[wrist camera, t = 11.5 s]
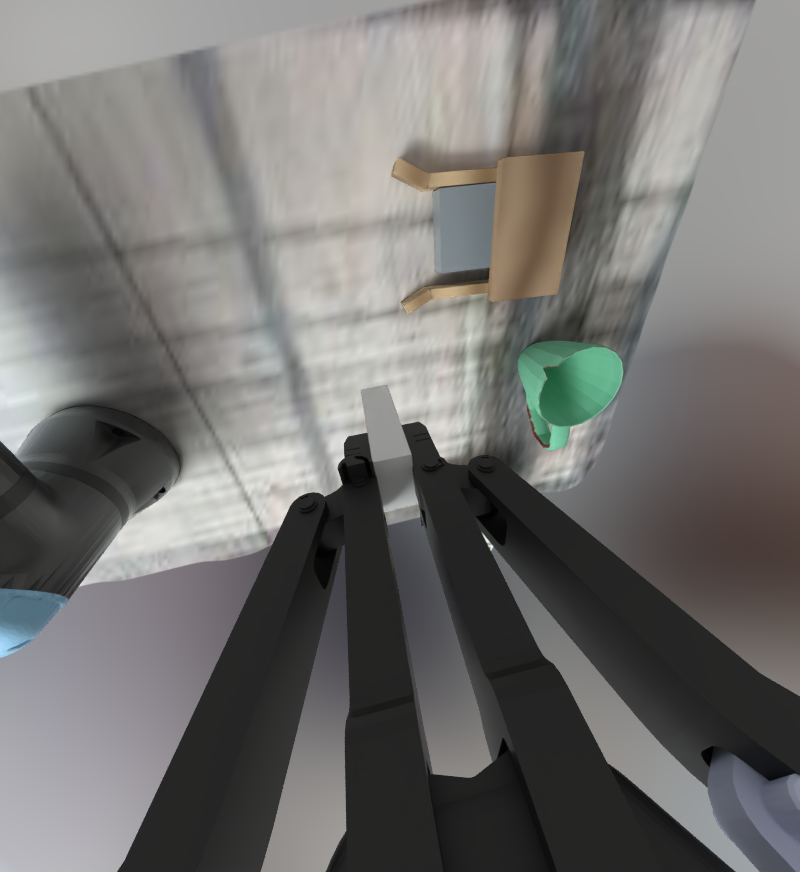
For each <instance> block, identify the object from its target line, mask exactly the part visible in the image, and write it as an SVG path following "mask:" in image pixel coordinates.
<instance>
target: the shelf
mask: <svg viewBox="0 0 800 872" xmlns="http://www.w3.org/2000/svg"><path fill="white" fill-rule="evenodd" d="M584 153H585V151H578V152H566V153H554V154H541V155H529V156H516V157H504V158H502V159H500V160H498V163H497V168H487V169H475V170H463V171H451V172H439V173H427V172H425V171H423V170H421V169H419V168H417V167H415V166H413V165H412V164H410V163H408V162H406V161H404V160H402V159H400V158H398V159H397V160H396V162H395V164H394V167H393V171H392V175H391V176H392V177H394V178H396V179H398V180H400V181H402V182H404V183H406V184H408V185H410V186H412V187H414V188H416V189H418V190H420V191H427V190H437V189H439V188H448V187H457V186H467V185H477V184H487V183H496V190H495V204H494V217H493V230H492V244H491V257H490V271H489V279H488V280H479V281H470V282H462V283H453V284H444V285H435V286H426V287H425V286H424V287H423V288H421V289H420V290H418V291H417V292H415V293H414V294H412V295H411V296H409V297H407V298H406V299H404V300H403V301H401V304H402V306H403V307H404V309H405V311H406V312H407V313H408V314H409V313H411V312H412V311H414V310H415V309H417V308H418V307H420V306H422V305H423V304H425V303H426V302H428V301H429V300H431V299H439V298H448V297H456V296H465V295H473V294H482V293H488V298H487V300H489V301H491V302H496V301H504V300H512V299H521V298H529V297H537V296H546V295H554V294H557V293H558V288H559V283H560V277H561V272H562V267H563V262H564V257H565V252H566V246H567V241H568V236H569V231H570V226H571V220H572V215H573V210H574V205H575V200H576V195H577V189H578V184H579V179H580V174H581V169H582V163H583V158H584Z"/></svg>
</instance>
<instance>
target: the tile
mask: <svg viewBox="0 0 800 872" xmlns="http://www.w3.org/2000/svg"><path fill="white" fill-rule="evenodd" d="M495 190H496V183H487V184H477V185H467V186H457V187H448V188H439V189H437V190H435V191H434V192H433V220H434V261H435V271H436V272H438V273H448V272H457V271H465V270H473V269H481V268H489V267H490V257H491V244H492V230H493V217H494V204H495Z"/></svg>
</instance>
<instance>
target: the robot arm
mask: <svg viewBox="0 0 800 872" xmlns="http://www.w3.org/2000/svg"><path fill="white" fill-rule="evenodd" d="M361 395H362V402H363V408H364V414H365V420H366V426H367V432H368V433H364V434H359V435H354V436H349V437H348V438H347V439H346V441H345V443H344V456H345V458H344V459H343V460H342V461H341V462H340V463H339V465H338V471H339V474H340V477H341V480H342V484H343V485H342V486H341V487H340V488H339V489H338V490H337V491H335V492H333V493H332V494H329V495H327V496H325V497H324V496H323V495H321V494H320V493H314V492H313V493H307V494H304V495H302V496H300V497H299V498H297V499H296V500H295V501H294V502H293V503H292V505H291V506H290V508H289V510H288V512H287V515H286V517H285V519H284V521H283V523H282V525H281V527H280V530H279V532H278V534H277V536H276V538H275V540H274V542H273V544H272V547H271V549H270V551H269V553H268V555H267V557H266V559H265V562H264V564H263V566H262V568H261V570H260V572H259V574H258V577H257V579H256V581H255V583H254V585H253V587H252V589H251V591H250V594H249V596H248V598H247V600H246V602H245V604H244V607H243V609H242V611H241V613H240V615H239V617H238V619H237V621H236V624H235V626H234V628H233V630H232V632H231V634H230V636H229V638H228V641H227V643H226V645H225V647H224V649H223V651H222V653H221V656H220V658H219V660H218V662H217V664H216V666H215V668H214V671H213V673H212V675H211V677H210V679H209V681H208V684H207V685H206V688H205V690H204V692H203V694H202V696H201V698H200V701H199V703H198V705H197V707H196V709H195V711H194V713H193V716H192V718H191V720H190V722H189V724H188V726H187V728H186V730H185V732H184V735H183V737H182V739H181V741H180V743H179V745H178V748H177V750H176V752H175V754H174V756H173V758H172V760H171V763H170V765H169V767H168V769H167V771H166V773H165V775H164V777H163V780H162V782H161V784H160V786H159V788H158V790H157V792H156V794H155V797H154V799H153V801H152V803H151V805H150V807H149V809H148V812H147V814H146V816H145V818H144V820H143V822H142V825H141V827H140V829H139V831H138V833H137V835H136V837H135V840H134V842H133V844H132V846H131V848H130V850H129V852H128V855H127V857H126V859H125V861H124V862H123V864H122V865H121V867H120V868H119V870H118V871H117V872H260V871H261V868H262V865H263V861H264V858H265V854H266V851H267V847H268V844H269V840H270V837H271V833H272V829H273V826H274V822H275V818H276V814H277V810H278V805H279V801H280V797H281V793H282V789H283V785H284V781H285V777H286V773H287V769H288V765H289V761H290V757H291V752H292V749H293V744H294V741H295V737H296V733H297V729H298V724H299V720H300V716H301V712H302V708H303V704H304V700H305V696H306V692H307V688H308V684H309V680H310V676H311V671H312V668H313V663H314V660H315V656H316V652H317V648H318V644H319V640H320V635H321V631H322V627H323V623H324V619H325V615H326V611H327V607H328V603H329V599H330V595H331V591H332V586H333V583H334V579H335V575H336V570H337V567H338V563H339V559H340V555H341V550H342V545H344V544H345V568H346V597H347V598H346V599H347V628H348V629H347V630H348V661H349V689H350V708H349V714H348V717H347V720H346V728H345V773H346V774H345V780H346V826H347V827H346V829H347V831H346V832H345V834H344V835H343V837H342V839H341V840H340V842H339V844H338V846H337V848H336V850H335V852H334V854H333V856H332V858H331V861H330V863H329V865H328V868H327V870H326V872H735V871H734V870H733V869H732V868H730V867H729V866H728V865H727V864H725V862H723V861H722V860H721V859H720V858H719V857H718V856H717V855H715V854H714V853H713V852H712V851H711V850H710V849H708V848H707V847H706V846H705V845H704V844H703V843H701V842H700V841H699V840H698V839H697V838H696V837H694V836H693V835H692V834H691V833H690V832H689V831H688V830H687V829H685V828H684V827H683V826H682V825H681V824H680V823H678V822H677V821H676V820H675V819H674V818H672V816H670V815H669V814H668V813H667V812H666V811H664V810H663V809H662V808H661V807H660V806H659V805H658V804H657V803H655V802H654V801H653V800H652V799H651V798H650V797H648V796H647V795H646V794H645V793H644V792H643V791H642V790H640V789H639V788H638V787H637V786H636V785H635V784H633V783H632V782H631V781H630V780H628V778H626V777H625V776H624V775H623V774H622V773H620V772H619V771H618V770H616V769H615V768H614V767H612V766H611V765H609V764H608V763H607V762H606V760H605V758H604V756H603V754H602V752H601V750H600V748H599V746H598V744H597V742H596V740H595V738H594V736H593V734H592V733H591V731H590V729H589V727H588V725H587V723H586V721H585V719H584V717H583V715H582V713H581V711H580V709H579V707H578V705H577V703H576V701H575V700H574V698H573V696H572V694H571V692H570V690H569V688H568V686H567V684H566V682H565V681H564V679H563V677H562V675H561V674H560V672H559V671H558V669H557V668H556V667H555V666H554V664H553V663H551V662H550V661H548V660H547V659H546V658H545V657H544V656H543V655H542V653H541V651H540V650H539V648H538V646H537V644H536V642H535V640H534V638H533V636H532V634H531V632H530V630H529V628H528V626H527V624H526V622H525V620H524V618H523V616H522V614H521V611H520V609H519V607H518V606H517V603H516V601H515V599H514V597H513V595H512V593H511V591H510V589H509V587H508V585H507V583H506V581H505V579H504V577H503V575H502V573H501V571H500V569H499V567H498V565H497V563H496V561H495V559H494V557H493V555H492V553H491V550H490V548H489V546H488V544H487V542H486V540H485V538H484V536H485V537H486V538H487V539H488V540H489V542H490V543H491V544H492V545H493V546H494V547H495V549H496V550H497V551H498V552H499V553H500V555H501V556H502V557H503V558H504V559H505V560H506V562H507V563H508V564H509V565H510V566H511V568H512V569H513V570H514V571H515V572H516V574H517V575H518V576H519V577H520V578H521V580H522V581H523V582H524V583H525V584H526V586H527V587H528V588H529V589H530V590H531V592H532V593H533V594H534V595H535V596H536V597H537V598H538V600H539V601H540V602H541V603H542V604H543V606H544V607H545V608H546V609H547V611H548V612H549V613H550V614H551V615H552V616H553V617H554V619H555V620H556V621H557V622H558V624H559V625H560V626H561V627H562V628H563V629H564V631H565V632H566V633H567V634H568V635H569V637H570V638H571V639H572V640H573V641H574V643H575V644H576V645H577V646H578V647H579V649H580V650H581V651H582V652H583V653H584V654H585V656H586V657H587V658H588V659H589V660H590V662H591V663H592V664H593V665H594V666H595V667H596V669H597V670H598V671H599V672H600V674H601V675H602V676H603V677H604V678H605V679H606V681H607V682H608V683H609V684H610V685H611V686H612V688H613V689H614V690H615V691H616V693H617V694H618V695H619V696H620V697H621V699H622V700H623V701H624V702H625V703H626V704H627V705H628V707H629V708H630V709H631V710H632V711H633V713H634V714H635V715H636V716H637V717H638V719H639V720H640V721H641V722H642V723H643V724H644V725H645V726H646V728H647V729H648V730H649V731H650V732H651V733H652V734H653V735H654V737H655V738H656V739H657V740H658V741H659V742H660V743H661V744H662V745H663V746H664V747H665V748H666V749H667V750H668V751H669V752H670V753H671V754H672V755H673V756H674V757H675V758H676V759H677V760H678V761H679V762H680V763H681V764H682V765H683V766H684V767H685V768H686V769H687V770H688V771H689V772H690V773H691V774H693V775H694V776H695V777H696V778H697V779H698V780H699V781H701V782H702V783H703V784H704V785H705V786H706V787H708V794H709V798H710V801H711V805H712V808H713V814H714V816H715V819H716V821H717V823H718V825H719V827H720V828H721V829H722V831H723V832H724V833H725V835H726V836H727V837H728V838H729V839H730V840H731V841H732V842H734V843H735V844H736V846H737V847H738V848H739V849H740V850H741V851H742V852H743V854H744V855H745V856H746V857H747V858H748V859H749V860H750V861H751V863H752V864H753V865H754V866H755V867H756V868H757V869H758V870H759V872H800V696H798V695H796V694H794V693H793V692H791V691H789V690H788V689H786V688H784V687H782V686H781V685H779V684H777V683H776V682H774V681H772V680H770V679H769V678H767V677H765V676H763V675H762V674H760V673H759V672H757V671H756V670H755V669H754V668H753V667H752V666H750V665H749V664H748V663H747V662H746V661H744V660H743V659H742V658H741V657H739V656H738V655H737V654H736V653H734V652H733V651H732V650H731V649H730V648H728V647H727V646H726V645H725V644H724V643H722V642H721V641H720V640H719V639H717V638H716V637H715V636H714V635H713V634H711V633H710V632H709V631H708V630H707V629H705V628H704V627H703V626H702V625H700V624H699V623H698V622H697V621H695V620H694V619H693V618H692V617H690V616H689V615H688V614H687V613H686V612H685V611H683V610H682V609H681V608H680V607H678V606H677V605H676V604H675V603H673V602H672V601H671V600H670V599H669V598H667V597H666V596H665V595H664V594H663V593H661V592H660V591H659V590H658V589H657V588H655V587H654V586H653V585H652V584H650V583H649V582H648V581H646V580H645V579H644V578H643V577H642V576H640V575H639V574H638V573H637V572H636V571H634V570H633V569H632V568H631V567H630V566H628V565H627V564H626V563H625V562H624V561H622V560H621V559H620V558H619V557H617V556H616V555H615V554H614V553H613V552H611V551H610V550H609V549H608V548H607V547H605V546H604V545H603V544H602V543H600V542H599V541H598V540H597V539H596V538H594V537H593V536H592V535H591V534H589V533H588V532H587V531H586V530H585V529H583V528H582V527H581V526H580V525H578V524H577V523H576V522H575V521H574V520H572V519H571V518H570V517H568V516H567V515H566V514H565V513H564V512H563V511H561V510H560V509H559V508H558V507H556V506H555V505H554V504H553V503H552V502H550V501H549V500H548V499H546V497H544V496H543V495H542V494H541V493H539V492H538V491H537V490H536V489H535V488H533V487H532V486H531V485H530V484H528V483H527V482H526V481H525V480H524V479H522V478H521V477H520V476H519V475H517V474H516V473H515V472H514V471H513V470H511V469H510V468H509V467H508V466H506V465H505V464H504V463H503V462H502V461H500V460H499V459H497V458H495V457H492V456H488V455H481V456H477V457H475V458H473V459H471V460H470V462H469V463H468V465H453V464H449V463H447V462H446V460H445V459H444V458H442V457H440V456H439V453H438V451H437V449H436V447H435V445H434V443H433V441H432V439H431V437H430V435H429V433H428V430H427V428H426V426H424V425H423V424H421V423H420V422H415V423H410V424H405V425H401V423H400V420H399V417H398V414H397V412H396V409H395V406H394V403H393V400H392V397H391V394H390V392H389V389H388V386H387V385H384V386H378V387H373V388H368V389H362V390H361ZM179 469H180V465H179V459H178V456H177V454H176V452H175V450H174V448H173V447H172V445H171V444H170V442H169V441H168V440H167V439H166V438H165V437H164V436H163V435H162V434H161V433H160V432H159V431H157V430H156V429H155V428H153V427H152V426H150V425H149V424H147V423H145V422H144V421H142V420H140V419H138V418H136V417H134V416H131V415H129V414H126V413H123V412H120V411H117V410H113V409H109V408H103V407H94V406H80V407H72V408H68V409H64V410H61V411H59V412H57V413H55V414H53V415H52V416H50V417H48V418H47V419H45V420H43V421H42V422H40V423H39V424H38V425H36V426H35V427H34V428H33V429H32V430H31V431H30V433H29V434H28V436H27V438H26V440H25V441H24V442H23V444H22V445H21V447H20V448H19V450H18V451H17V453H16V454H15V455H14V454H13V453H12V452H11V451H10V450H9V449H8V448H7V447H6V446H5V445H4V444H3V443H2V442H1V441H0V658H1V657H4V656H7V655H9V654H11V653H13V652H16V651H18V650H19V649H21V648H23V647H24V646H26V645H27V644H28V643H30V642H31V641H32V640H33V639H34V638H35V637H36V636H37V635H38V634H39V633H40V632H41V631H42V629H43V628H44V627H45V626H46V625H47V624H48V623H49V621H50V620H51V619H52V618H53V617H54V616H55V614H56V613H57V612H58V611H59V610H60V609H62V608H63V607H65V606H66V604H67V602H68V600H69V599H70V597H71V596H72V595H73V593H74V592H75V591H76V589H77V588H78V586H79V585H80V584H81V582H82V581H83V580H84V578H85V577H86V576H87V574H88V573H89V572H90V570H91V569H92V568H93V566H94V565H95V564H96V562H97V561H98V560H99V558H100V557H101V556H102V554H103V553H104V552H105V550H106V549H107V547H108V546H109V545H110V543H111V542H112V541H113V539H114V538H115V537H116V535H117V534H118V533H119V531H120V530H121V529H122V527H123V526H124V525H125V523H126V522H127V521H128V520H130V519H131V518H133V517H134V516H136V515H137V514H139V513H140V512H142V511H143V510H145V509H146V508H148V507H149V506H151V505H152V504H154V503H155V502H157V501H158V500H159V499H161V498H162V497H163V496H164V495H165V494H166V493H167V492H168V491H169V490H170V488H171V487H172V485H173V484H174V482H175V481H176V479H177V477H178V475H179ZM417 500H418V501H417ZM418 503H419V508H420V516H421V523H422V526H424V528H425V531H426V535H427V538H428V541H429V544H430V547H431V551H432V554H433V558H434V561H435V564H436V568H437V571H438V574H439V577H440V580H441V584H442V587H443V591H444V594H445V597H446V601H447V604H448V607H449V611H450V614H451V617H452V621H453V624H454V627H455V631H456V634H457V637H458V640H459V644H460V647H461V650H462V654H463V657H464V660H465V663H466V667H467V670H468V674H469V677H470V680H471V683H472V687H473V690H474V693H475V696H476V700H477V703H478V707H479V710H480V714H481V719H482V724H483V729H484V733H485V737H486V741H487V744H488V748H489V751H490V755H491V758H492V761H493V763H491V764H490V765H489V766H488V767H486V768H485V769H484V770H483V771H482V772H480V773H479V774H478V775H476V776H475V777H472V778H463V777H454V776H444V775H434V774H433V773H432V767H431V762H430V756H429V751H428V746H427V742H426V737H425V732H424V726H423V721H422V715H421V710H420V705H419V700H418V694H417V688H416V682H415V677H414V671H413V666H412V661H411V655H410V649H409V644H408V639H407V633H406V628H405V622H404V616H403V611H402V605H401V600H400V595H399V589H398V584H397V579H396V573H395V567H394V561H393V556H392V550H391V545H390V540H389V534H388V529H387V523H386V518H385V514H384V512H385V511H390V510H394V509H399V508H403V507H408V506H412V505H417V504H418ZM482 533H483V534H484V536H483V534H482Z"/></svg>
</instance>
